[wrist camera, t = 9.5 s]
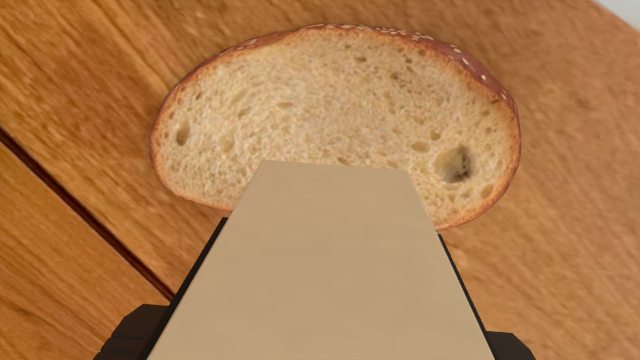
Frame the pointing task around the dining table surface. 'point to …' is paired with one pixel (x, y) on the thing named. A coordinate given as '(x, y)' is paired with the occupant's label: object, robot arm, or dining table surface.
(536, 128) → the dining table surface
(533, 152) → the dining table surface
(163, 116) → the bread slice
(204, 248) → the robot arm
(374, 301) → the block
